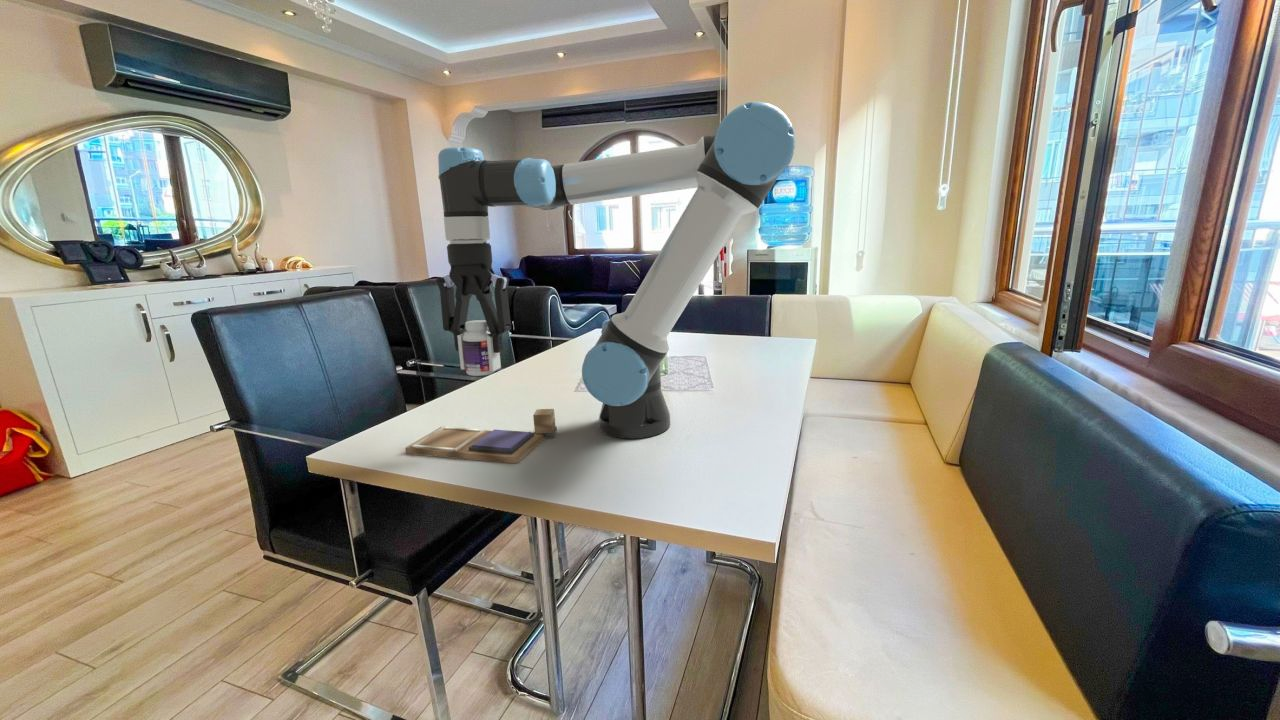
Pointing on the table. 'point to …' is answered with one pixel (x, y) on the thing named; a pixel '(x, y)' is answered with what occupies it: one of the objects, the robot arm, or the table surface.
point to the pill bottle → (476, 348)
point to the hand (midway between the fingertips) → (480, 368)
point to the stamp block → (545, 423)
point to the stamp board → (477, 444)
